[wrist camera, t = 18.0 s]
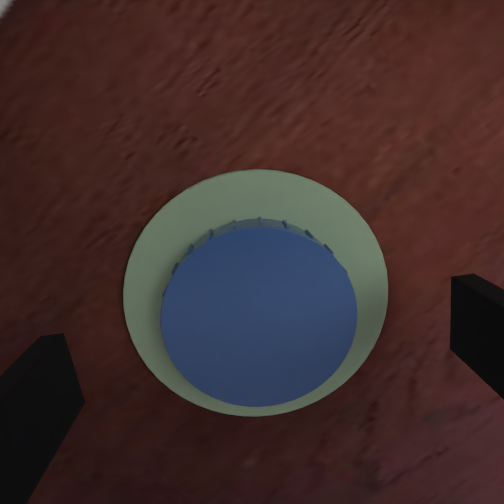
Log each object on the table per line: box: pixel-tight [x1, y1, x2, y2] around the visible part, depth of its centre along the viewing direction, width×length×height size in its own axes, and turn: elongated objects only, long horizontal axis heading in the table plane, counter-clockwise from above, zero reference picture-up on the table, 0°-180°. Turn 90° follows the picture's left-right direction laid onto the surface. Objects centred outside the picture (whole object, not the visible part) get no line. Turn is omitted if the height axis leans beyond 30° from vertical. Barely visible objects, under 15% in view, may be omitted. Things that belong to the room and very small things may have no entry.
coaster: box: [123, 169, 388, 416], centre depth 16 cm, size 11×11×1 cm
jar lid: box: [160, 217, 358, 407], centre depth 15 cm, size 8×8×2 cm
